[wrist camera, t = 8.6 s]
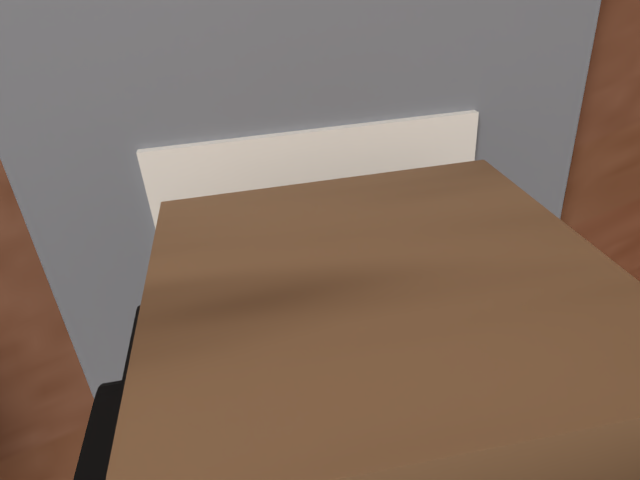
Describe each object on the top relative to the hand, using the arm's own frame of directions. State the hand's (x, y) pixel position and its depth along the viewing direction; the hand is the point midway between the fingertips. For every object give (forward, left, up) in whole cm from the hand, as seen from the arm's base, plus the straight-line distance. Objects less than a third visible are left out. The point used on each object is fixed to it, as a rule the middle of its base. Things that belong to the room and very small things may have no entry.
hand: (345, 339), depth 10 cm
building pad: (0, 0, -3) cm, 3 cm away
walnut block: (0, 0, -1) cm, 1 cm away
